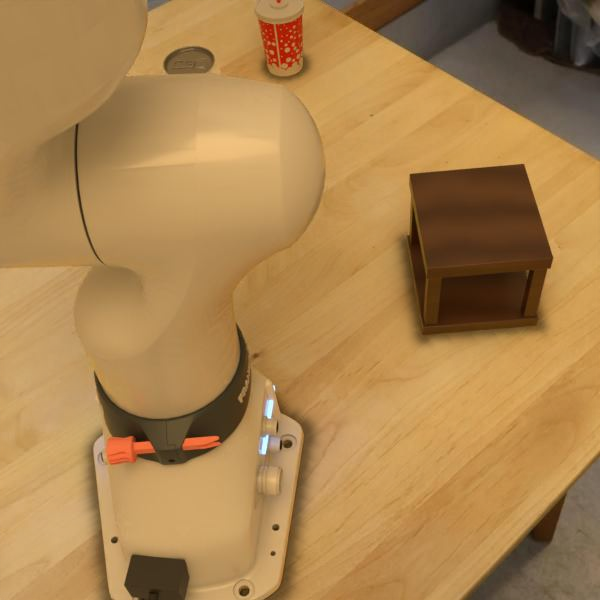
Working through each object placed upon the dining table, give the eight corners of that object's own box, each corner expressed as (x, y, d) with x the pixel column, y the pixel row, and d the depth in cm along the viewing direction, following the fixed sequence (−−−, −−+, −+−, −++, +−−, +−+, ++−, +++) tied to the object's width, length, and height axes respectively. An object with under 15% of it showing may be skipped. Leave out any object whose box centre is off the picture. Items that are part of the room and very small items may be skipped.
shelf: (536, 325, 82) (553, 257, 74) (422, 335, 82) (427, 268, 75) (511, 233, 90) (524, 163, 82) (406, 242, 90) (409, 173, 82)
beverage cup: (313, 53, 111) (307, -48, 100) (302, 82, 107) (294, -19, 96) (268, 48, 112) (257, -51, 101) (256, 77, 109) (242, -23, 98)
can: (231, 163, 99) (216, 78, 90) (176, 165, 100) (155, 81, 90) (235, 126, 103) (220, 41, 94) (182, 128, 104) (162, 44, 94)
